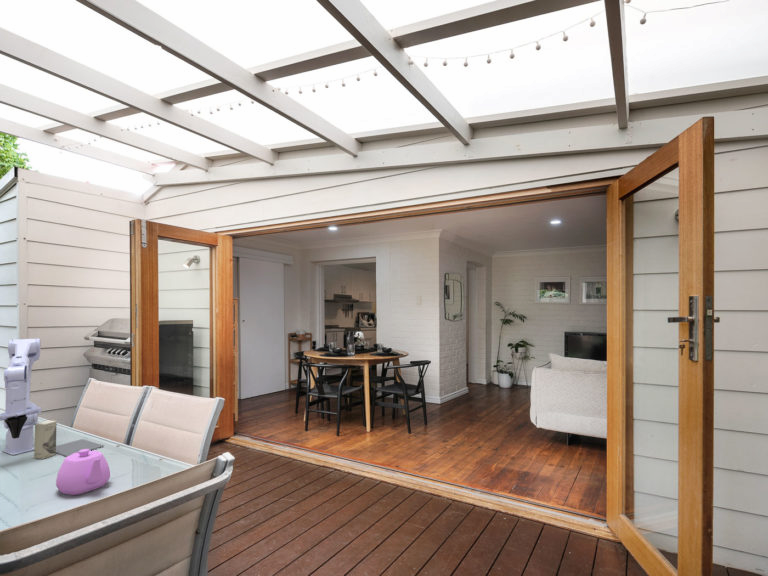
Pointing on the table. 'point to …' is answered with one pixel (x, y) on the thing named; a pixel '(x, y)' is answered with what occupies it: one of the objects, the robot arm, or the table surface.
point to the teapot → (82, 472)
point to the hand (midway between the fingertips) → (15, 437)
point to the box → (45, 439)
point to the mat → (76, 447)
